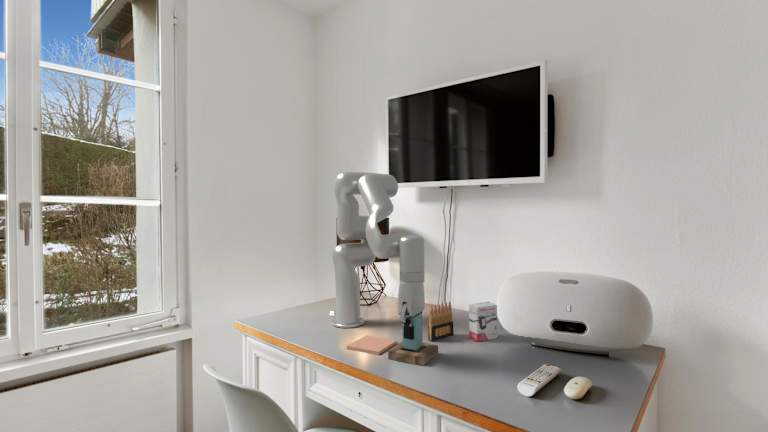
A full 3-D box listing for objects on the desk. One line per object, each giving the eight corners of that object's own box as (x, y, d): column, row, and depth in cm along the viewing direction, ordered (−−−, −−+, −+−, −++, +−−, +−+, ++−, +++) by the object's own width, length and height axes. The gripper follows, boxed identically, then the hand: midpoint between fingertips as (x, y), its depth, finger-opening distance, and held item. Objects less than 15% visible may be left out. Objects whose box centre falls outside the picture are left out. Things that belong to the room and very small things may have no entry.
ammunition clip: (431, 341, 134) (431, 306, 134) (428, 340, 136) (427, 305, 135) (453, 335, 141) (453, 301, 140) (450, 334, 142) (449, 300, 142)
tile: (346, 348, 129) (346, 345, 129) (366, 338, 139) (366, 335, 139) (378, 355, 123) (378, 351, 123) (396, 343, 133) (396, 340, 133)
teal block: (402, 347, 121) (402, 315, 120) (409, 343, 125) (408, 311, 124) (416, 350, 118) (415, 317, 118) (422, 345, 122) (422, 313, 122)
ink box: (477, 342, 133) (477, 307, 133) (468, 338, 137) (468, 303, 137) (498, 338, 136) (497, 304, 136) (488, 334, 141) (488, 301, 141)
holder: (387, 359, 119) (387, 350, 119) (405, 347, 129) (405, 339, 129) (423, 366, 113) (423, 357, 113) (438, 353, 123) (438, 345, 123)
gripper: (412, 271, 130) (413, 327, 131) (387, 280, 116) (388, 342, 116) (434, 273, 126) (434, 330, 127) (411, 282, 112) (411, 347, 112)
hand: (412, 335), depth 121 cm, fingers closed on teal block, 4 cm apart
